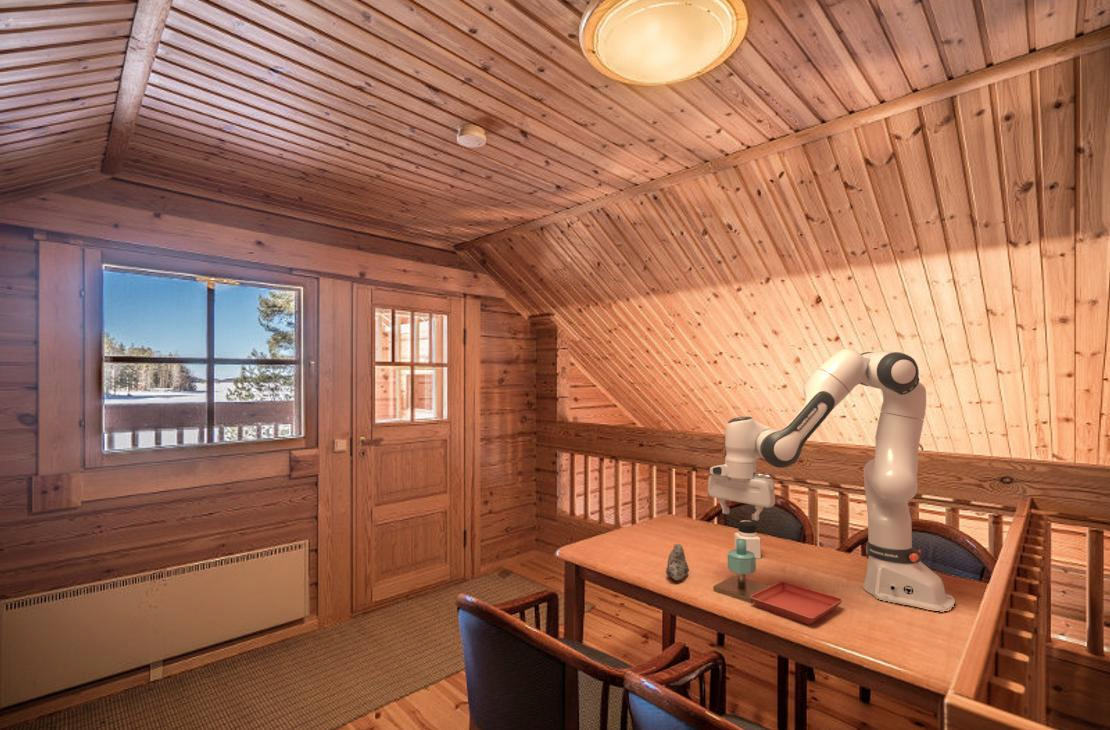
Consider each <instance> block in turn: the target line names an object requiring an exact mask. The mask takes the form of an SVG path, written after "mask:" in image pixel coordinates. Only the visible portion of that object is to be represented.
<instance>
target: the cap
mask: <svg viewBox="0 0 1110 730" xmlns="http://www.w3.org/2000/svg"><path fill="white" fill-rule="evenodd" d="M756 564H757V563H756V558H755V554H754V553H753V552H750V551H747V550H746V540H745V539H736V549H735V548H734V549H731V550H729V551H728V554H727V568H728V570H729V571H730V572H732V573H736V574H737V575H738V574H746V575H752V574H754V573H756V571H757V569H756V568H757V565H756Z"/></svg>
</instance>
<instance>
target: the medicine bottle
mask: <svg viewBox="0 0 1110 730" xmlns="http://www.w3.org/2000/svg"><path fill="white" fill-rule="evenodd" d="M737 528H738V529H737V530H738V532H734V550H735V549H736V539H745V540H746V550H747V551H750V552H753V553H754V554H755V558H756V559H762V549H761V548H762V546H761V545H762V541H761V538H760V537H759V536H758V535H757V524H756V522H754V521H753V520H740V521H739V522H738V527H737Z"/></svg>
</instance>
